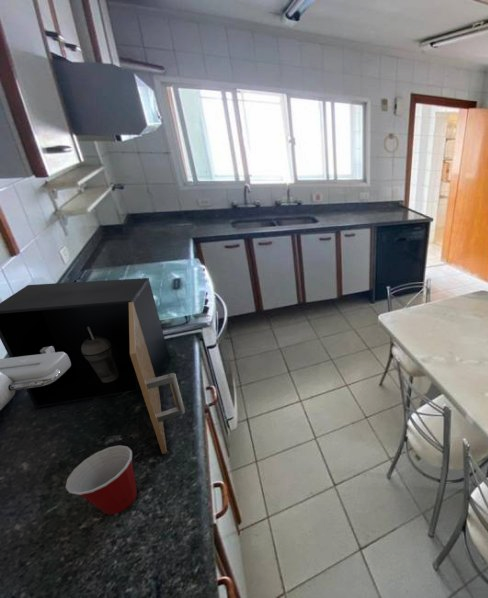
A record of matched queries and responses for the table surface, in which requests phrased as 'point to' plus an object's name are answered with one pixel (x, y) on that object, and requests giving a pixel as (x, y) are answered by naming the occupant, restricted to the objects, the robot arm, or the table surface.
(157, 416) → the fridge door
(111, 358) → the beverage cup
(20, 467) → the table surface
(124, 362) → the box
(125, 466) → the plastic cup
